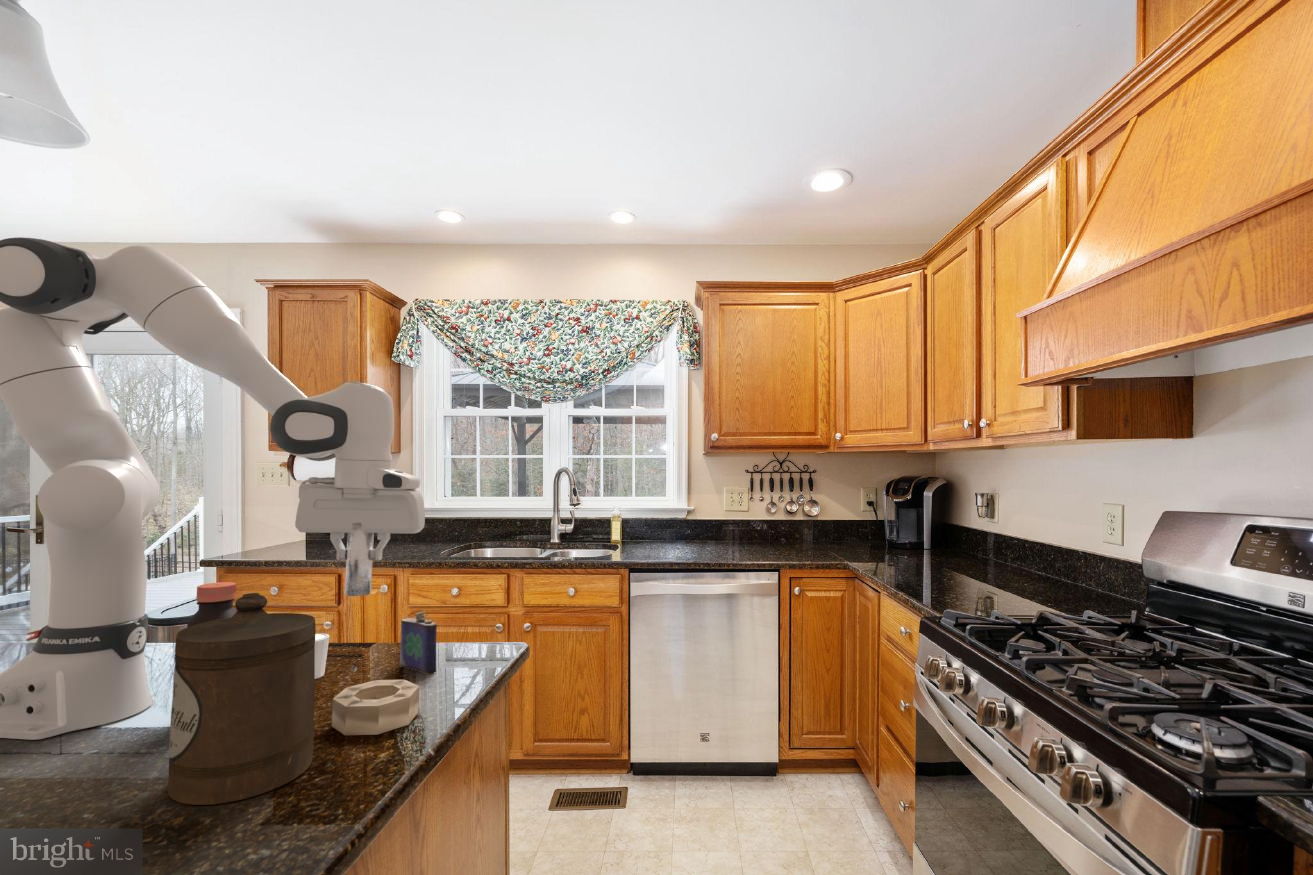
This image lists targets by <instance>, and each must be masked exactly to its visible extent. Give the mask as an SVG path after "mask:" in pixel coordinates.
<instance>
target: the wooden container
mask: <svg viewBox="0 0 1313 875" xmlns="http://www.w3.org/2000/svg"><path fill="white" fill-rule="evenodd" d="M267 604H268V598H267V597H266V596H264V595H263V594H262V595H261V594H260V593H259V592H250V593H245V594H243V595H242V596H241V597H238V598H236V599H235V606H234V607H235V609H236V610H237V612H236V613H235V614H234V615H233V617H230V618H224V619H218V620H213V621H208V622H204V623H200V624H196V625H193V626H190V627H187V626H186V627H185V628H183V629H181V630H180V631H178V632H177V633H176V635H175V643H174V644H175V646H174V673H173V682H172V683H173V685H172V686H173V687H172V704H171V711H170V712H171V713H170V724H169V725H170V727H169V750H168V754H169V755H168V777H167V778H168V780H167V781H168V782H167V792H168V796H169V797H170V799H172V800H173V801H175V802H178V803H180V804H184V805H192V806H193V805H194V806H210V805H218V804H220V805H222V804H226V803H232V802H236V801H242V800H246V799H250V798H252V797H256V796H260V795H263V794H266V793H267V792H270V791H273V790H275V789H278V788H280V787H282V786H284V785H287V784H288V783H290V782H292V781H294V780H295V779H297V778H298V777H299V776H301V775H302V774H304V773H305V771H307V770H308V769H309V768H310V766H311V764H312V762H313V759H314V756H313V755H314V741H315V740H314V731H315V703H316V702H315V701H316V699H315V698H316V692H315V691H316V690H315V684H316V682H315V680H316V679H315V634H316V633H317V632H316V630H317V629H316V618H315V617H314V616H312V615H309V614H304V613H294V612H293V613H292V612H291V613H290V612H289V613H287V612H285V613H284V612H277V613H275V612H270V613H268V612H267V611H266V610H265V609H263V608H265V607H266V606H267Z"/></svg>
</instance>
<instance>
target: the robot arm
mask: <svg viewBox="0 0 1313 875" xmlns="http://www.w3.org/2000/svg"><path fill="white" fill-rule="evenodd" d="M0 302H1V303H3V304H4V305H6V306H8V307H4V308H1V309H0V398H1V399H2V402H3V403H4V405H5V407H6V409H7V411H8V413H9V415H10V418H11V419H12V421H13V423H14V424H15V426H16V429H17V430H18V432H19V435H20V436H21V438H22V439H23V440H24V441H25V443H26V444H27V445H28V446H29V447H31V449H33V451H34V452H35V453H36V454H37V456H38V457H39V458H40V459H41V460H42V462H43V463H44V464H45V466H46V467H47V468H48V470H49V471H50V472H51V473H52V474H51V475H50V476H49V477H48V478H47V479H45V481H44V482H43V483H42V485H41V486H40V488H39V491H38V494H37V506H38V509H39V512H40V513H41V515H42V517H43V525H44V526H43V528H44V534H45V535H44V536H45V540H46V541H45V542H46V547H47V553H48V559H49V566H50V567H49V568H50V588H49V589H50V591H49V607H48V622H47V625H45V626H44V627H41V629H38V630H34V631H31V632H28V633H26V635H27V636H28V635H31V636H29V637H28V638H26V639H25V641H27V642H29V641H33V640H36V639H37V640H36V642H35V644H34V646H33V647H32V648H33V649H32V651H31V652H30V653H29V654H27V655H26V656H24V657H23V658H21V659H19V661H17V662H15V663H14V664H12V665H11V666H10V667H8V668H7V669H5V670H3V671H2V672H1V673H0V738H1V739H13V740H14V739H18V740H36V741H37V740H43V739H46V738H51V737H54V736H58V735H62V734H65V733H69V732H73V731H78V730H82V729H88V728H93V727H99V726H101V725H105V724H106V725H107V724H109V723H113V722H117V721H120V720H123V719H125V718H129V717H131V716H133V715H137V714H138V713H141V712H142V711H144V710H147V708H150V707H151V706H152V704H154V699H153V696H152V693H151V690H150V687H149V681H148V677H147V676H148V675H147V669H146V668H147V667H146V658H145V649H146V644H147V640H148V630H149V628H148V627H149V626H148V625H149V616H148V614H147V613H145V612H146V599H147V597H146V596H147V581H148V579H147V578H148V563H147V559H146V556H145V555H146V554H145V547H144V537H143V536H144V535H143V524H142V522H143V519H145V518H146V517H147V516H149V514H151V512H152V511H153V510H154V509H155V507H156V505H157V504H158V501H159V498H160V485H159V483H158V481H157V479H156V477H155V475H154V474H153V472H152V470H151V469H150V467H149V465H148V463H147V462H146V460H145V458H144V457H143V455H142V453H141V452H140V450H139V449H138V447H137V444H136V443H135V441H134V440H133V439H132V437H131V436H130V434H129V433H128V431H127V430H126V428H125V427H124V425H123V424H122V422H121V421H120V419H119V417H118V415H117V414H116V412H115V410H114V408H113V405H112V404H111V402H110V400H109V398H108V395H107V394H106V391H105V390H104V387H103V386H102V383H101V382H100V380H99V378H98V376H97V374H96V372H95V370H94V367H93V365H92V364H91V362H90V359H89V358H88V356H87V354H86V351H85V350H84V346H83V343H82V340H83V339H82V338H83V335H85V334H86V335H91V336H92V335H98V334H100V333H101V332H103V331H105V330H106V329H108V328H110V327H111V326H112V325H115V324H117V323H120V322H122V321H124V320H126V319H128V318H131V319H132V320H133V321H134V322H135V323H136V324H138V325H139V327H141V328H142V329H143V330H144V332H146V333H147V334H148V335H149V336H150V337H152V338H153V340H155V341H156V342H158V343H159V344H160V345H161V346H163V347H164V348H166V349H167V350H169V351H170V352H172V353H173V354H175V355H177V356H178V357H180V358H181V359H183V360H185V361H186V362H188V363H190V364H193V365H194V366H196V367H199V368H201V369H203V370H206V371H208V372H210V373H212V374H214V375H217V376H219V377H222V378H223V379H225V380H227V381H228V382H230V383H232V384H233V385H235V386H237V387H238V388H240V389H241V390H243V391H244V392H245V394H247V395H248V396H250V397H251V398H252V399H253V400H254V401H255V402H257V404H258V405H260V406H261V407H262V408H264V410H265V411H266V412H268V413H269V414H270V415H271V416H272V417H271V419H270V423H269V424H270V425H269V431H270V435H271V437H272V440H273V441H274V443H275V444H276V446H278V448H280V449H281V450H282V451H285V452H286V453H288V454H290V455H293V456H297V457H300V458H301V457H302V458H304V459H307V460H310V461H312V462H313V461H314V462H324V461H329V460H332V459H335V462H334V477H331V476H330V477H316V476H315V477H314V476H311V477H309V478H308V479H305V480H303V481H302V482H301V483H300V484H299V487H298V499H299V502H298V506H297V510H296V515H295V522H294V524H295V525H294V526H295V528H296V529H297V531H298V532H299V533H319V534H320V533H322V534H323V533H327V534H329V533H330V535H329V539H330V542H331V544H332V545H333V547H334V549H335V550H336V561H346V556H347V547H346V546H345V545H344V543H343V541H342V539H344V538H345V533H346V534H348V533H350V532H351V529H352V523H362V528H361V529H362V531H363V532H364V533H374V534H377V540H379V542H378V543H377V546H376V547H375V548H373V549H372V550H370V555H371V556H370V560H373V561H382V559H383V550H384V549H385V547H386V545H387V544H388V543H389V541H390V540H391V534H417V533H420V532H421V531H422V530H423V529H424V528H425V525H426V523H425V522H426V521H425V520H426V513H425V512H426V511H425V502H424V501H425V500H424V497H423V495H422V493H421V492H420V491H419V490H417V489H419V488H420V485H421V479H420V477H418V476H416V475H413V474H410V473H407V472H404V471H403V470H398V469H395V468H393V455H392V452H391V451H392V450H391V446H392V442H393V440H394V435H395V410H394V401H393V398H392V396H391V395H390V394H389V393H388V392H387V391H386V390H384V389H383V388H381V387H379V386H376V385H372V384H369V383H365V382H359V381H348V382H347V381H346V382H344V383H343V384H341V385H340V386H339V387H337V388H334V389H332V390H330V391H327V392H324V393H322V394H318V395H314V396H308V395H306V394H305V393H304V392H303V391H301V389H299V388H298V387H297V386H296V385H295V384H294V383H293V382H292V381H291V380H290V379H288V378H287V377H286V376H285V375H284V374H283V373H282V372H281V371H279V370H278V369H277V367H276V366H274V365H273V364H272V363H271V361H269V360H268V358H267V357H266V356H265V355H264V354H263V352H262V351H261V350H260V348H259V347H258V346H257V345H256V343H255V342H254V340H253V339H252V338H251V336H250V334H249V333H248V332H247V331H246V329H245V328H244V327H243V325H242V324H241V322H240V321H239V320H238V318H237V317H236V316H235V314H234V313H233V312H232V311H231V310H230V308H229V307H228V306H227V305H226V304H225V302H223V301H222V300H221V298H220V297H219V296H218V295H217V294H216V293H215V292H214V291H213V290H212V289H210V288H209V287H208V286H207V285H206V284H205V283H204V282H203V281H202V280H201V279H199V278H198V277H197V276H196V275H194V274H193V273H192V272H191V271H189V269H188V268H186V267H184V266H183V265H182V264H180V263H179V262H177V261H176V260H175V259H173V258H172V257H170V256H168V255H167V254H165V253H164V252H162V251H161V250H159V249H156V248H154V247H153V246H152V247H151V246H149V245H148V246H147V245H140V244H139V245H130V246H127V247H123V248H121V249H119V250H117V251H115V252H113V253H112V254H111V255H109V256H108V257H106V258H105V257H104V258H101V257H99V256H97V255H95V254H94V253H93V254H92V253H90V252H87V251H85V250H82V249H79V248H76V247H70V246H66V245H63V244H60V243H56V242H54V241H50V240H46V239H42V238H34V237H24V236H23V237H10V238H4V239H0ZM33 634H34V635H33ZM32 635H33V636H32Z"/></svg>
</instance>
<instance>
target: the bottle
mask: <svg viewBox="0 0 1313 875" xmlns="http://www.w3.org/2000/svg"><path fill="white" fill-rule="evenodd" d="M195 597H196V598H195V600H196V605H197V606H198V610H197V611H196V612H195V613H194V614H193V615H192V616H191V617H190V618H189V619H188V621H187V623H186V625H187V626H186V628H187V627H190V626H193V625H196V624H200V623H204V622H208V621H213V620H218V619H224V618H230V617H233V615H234V614H235V613H236V612H237V611H238V610H237V609H236V607H235V606H234V602H236V599H237V598H236V597H237V582H232V581H221V582H220V581H219V582H211V583H204V584H203V583H202V584H200V585H198V586H196V596H195Z"/></svg>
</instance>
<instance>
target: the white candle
mask: <svg viewBox="0 0 1313 875" xmlns="http://www.w3.org/2000/svg"><path fill="white" fill-rule="evenodd" d="M361 528H362V523H352V529H351V532H350V533H347V537H346V538H347V541H346V549H347V556H346V560H345V575H344V576H345V578H344V579H345V580H344V596H346V597H361V596H367V595H371V594H372V582H373V581H372V580H373V578H372V577H373V561H374V560H370V556H371V555H370V550H372V549H374V541H375V540H374V538H375V537H374V536H375V533H364V532H363V531H362V529H361Z"/></svg>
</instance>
